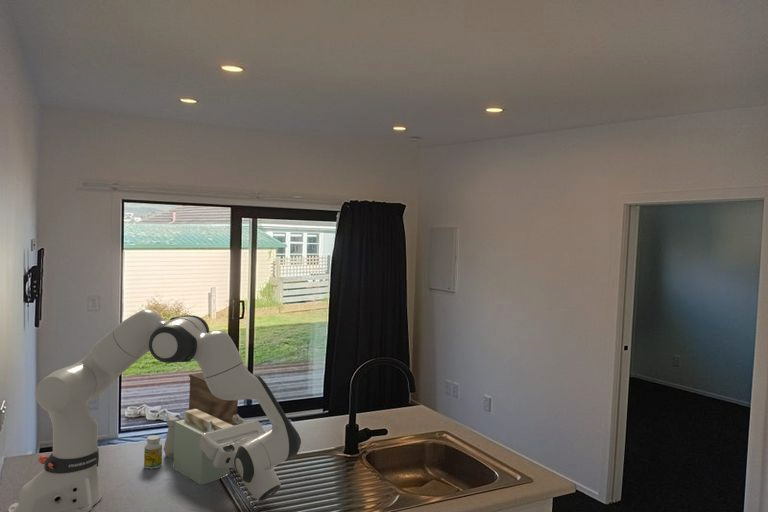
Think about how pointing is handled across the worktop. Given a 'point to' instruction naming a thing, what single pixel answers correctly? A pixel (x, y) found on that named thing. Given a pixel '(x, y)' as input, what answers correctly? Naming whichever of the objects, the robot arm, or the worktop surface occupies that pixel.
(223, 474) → the pale green block
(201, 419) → the beech bar
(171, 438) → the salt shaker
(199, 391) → the walnut block
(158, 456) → the supplement bottle
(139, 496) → the worktop surface
